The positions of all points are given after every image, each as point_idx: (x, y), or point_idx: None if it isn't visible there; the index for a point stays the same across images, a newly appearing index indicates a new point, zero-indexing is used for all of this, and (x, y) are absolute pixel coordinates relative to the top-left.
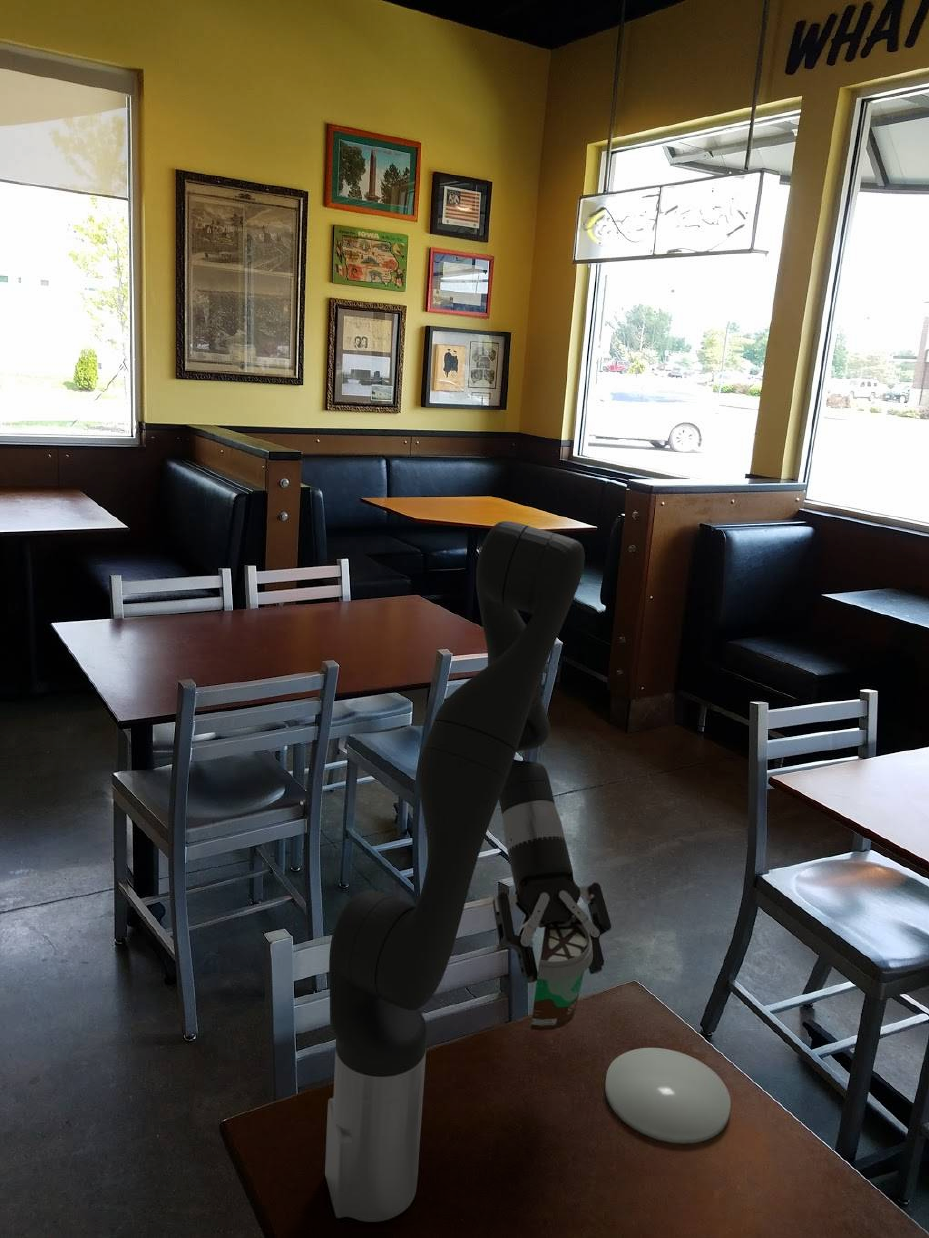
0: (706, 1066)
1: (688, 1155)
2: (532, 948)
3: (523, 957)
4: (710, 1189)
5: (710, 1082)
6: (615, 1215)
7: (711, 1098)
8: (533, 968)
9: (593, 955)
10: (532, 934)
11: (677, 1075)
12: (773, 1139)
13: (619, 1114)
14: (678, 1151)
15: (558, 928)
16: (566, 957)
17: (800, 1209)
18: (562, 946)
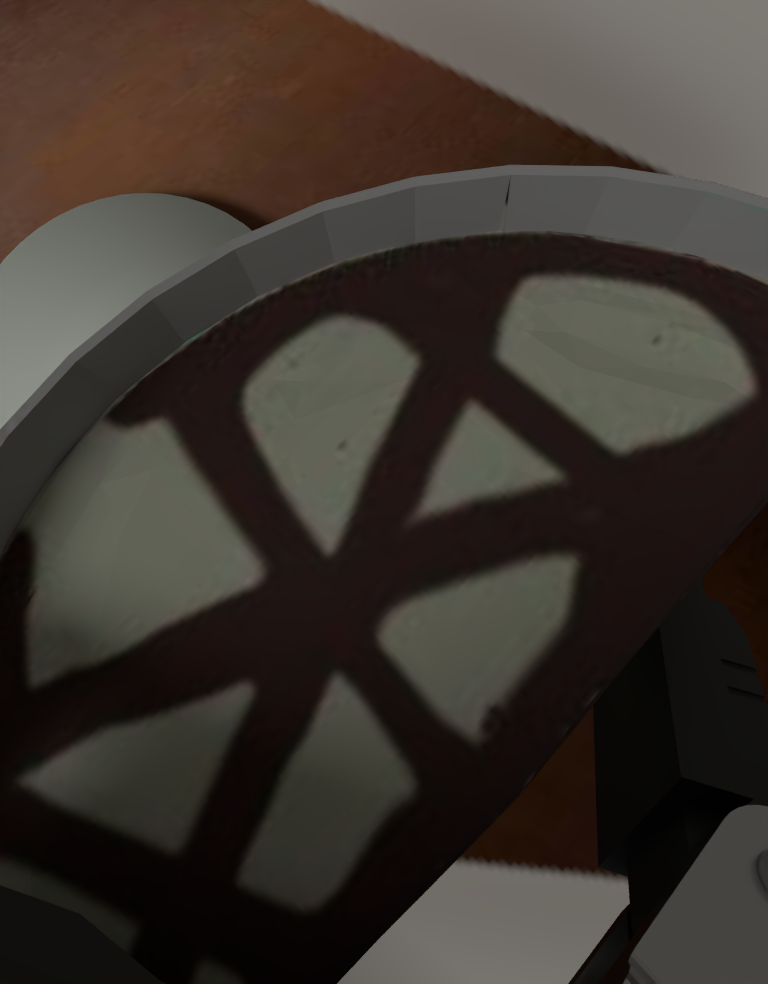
0: None
1: (255, 197)
2: (684, 756)
3: (762, 743)
4: (292, 103)
5: (8, 316)
6: (545, 151)
7: (58, 272)
8: (689, 602)
9: None
10: (675, 924)
11: None
12: (34, 136)
13: None
14: (267, 217)
15: (173, 886)
16: (492, 352)
17: None
18: (402, 531)
